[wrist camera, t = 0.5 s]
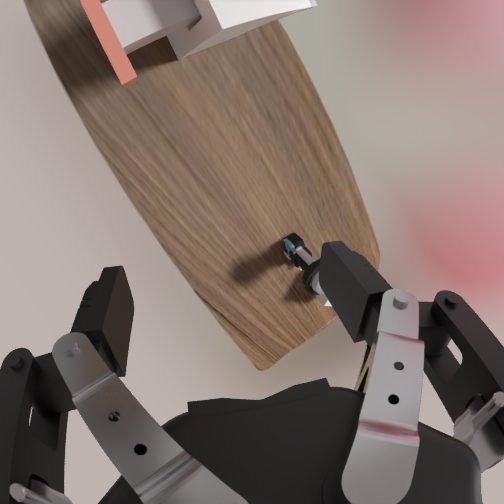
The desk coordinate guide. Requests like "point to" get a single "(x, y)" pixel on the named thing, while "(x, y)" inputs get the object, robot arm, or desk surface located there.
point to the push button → (304, 263)
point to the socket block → (230, 21)
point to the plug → (136, 27)
